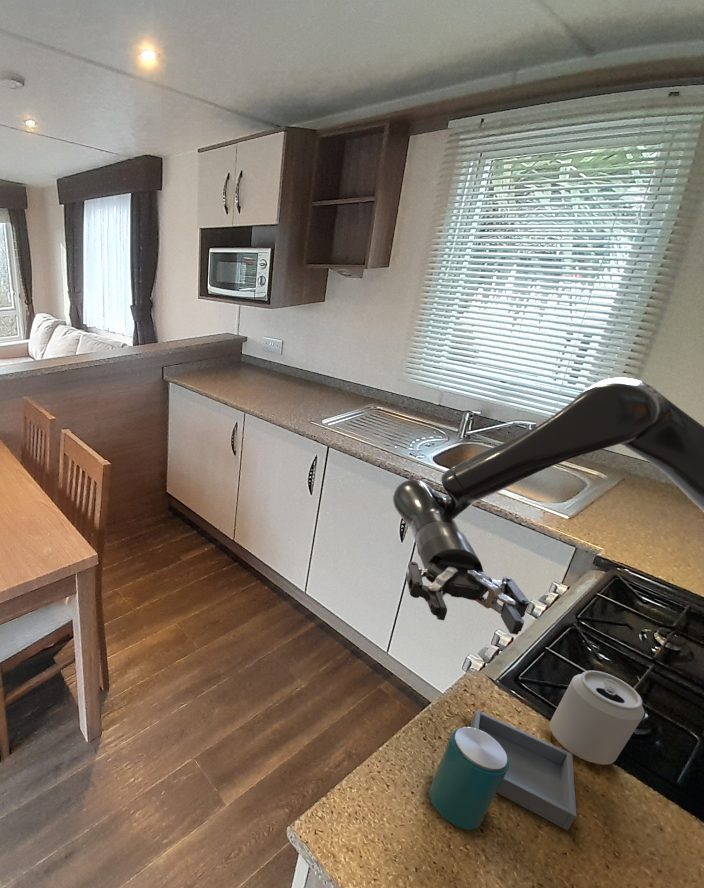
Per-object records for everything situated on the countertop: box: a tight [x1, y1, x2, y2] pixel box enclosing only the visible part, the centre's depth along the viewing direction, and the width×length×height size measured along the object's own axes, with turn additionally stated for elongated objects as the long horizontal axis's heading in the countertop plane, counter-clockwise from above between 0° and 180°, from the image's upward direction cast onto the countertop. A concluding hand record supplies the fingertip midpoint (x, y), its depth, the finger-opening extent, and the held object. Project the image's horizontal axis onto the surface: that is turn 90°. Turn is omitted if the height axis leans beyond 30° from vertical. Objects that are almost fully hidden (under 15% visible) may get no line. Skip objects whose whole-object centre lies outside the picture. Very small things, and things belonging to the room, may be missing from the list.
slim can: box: [428, 726, 509, 831], centre depth 62 cm, size 6×6×12 cm
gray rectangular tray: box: [469, 709, 577, 831], centre depth 68 cm, size 11×10×3 cm
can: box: [548, 669, 645, 766], centre depth 70 cm, size 8×8×12 cm
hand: (479, 622), depth 65 cm, fingers open, 8 cm apart
